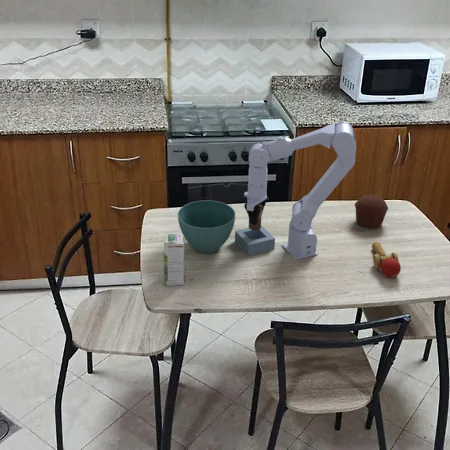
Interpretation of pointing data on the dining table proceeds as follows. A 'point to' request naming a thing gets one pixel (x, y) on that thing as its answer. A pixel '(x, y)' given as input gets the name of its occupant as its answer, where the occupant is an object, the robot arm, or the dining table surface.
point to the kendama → (385, 261)
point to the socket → (254, 240)
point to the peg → (258, 226)
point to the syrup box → (173, 259)
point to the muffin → (370, 211)
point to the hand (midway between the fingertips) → (255, 220)
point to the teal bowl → (206, 224)
